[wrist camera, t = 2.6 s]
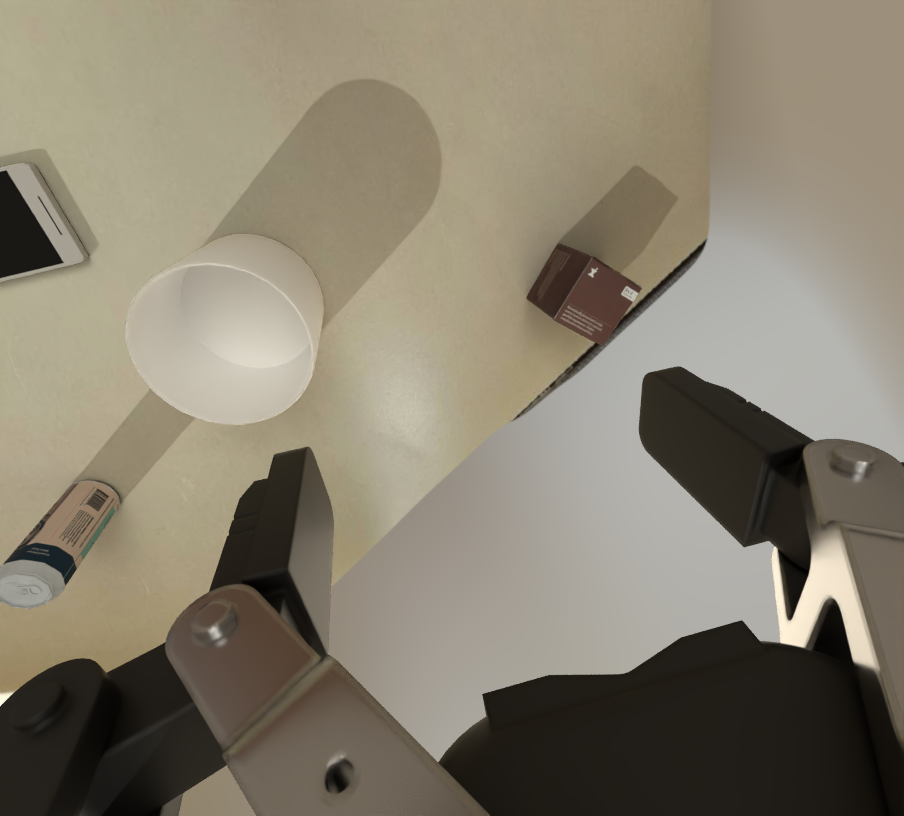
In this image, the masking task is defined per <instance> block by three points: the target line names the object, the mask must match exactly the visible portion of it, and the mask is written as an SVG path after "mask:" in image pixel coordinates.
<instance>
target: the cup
mask: <svg viewBox="0 0 904 816" xmlns="http://www.w3.org/2000/svg"><path fill="white" fill-rule="evenodd" d="M323 315H324V305H323V295H322V292H321V288H320V285H319V283H318V281H317V279H316V277H315V275H314V273H313V271H312V270H311V269H310V267H309V266H308V265H307V264H306V262H305V261H304V260H303V259H302V258H301V257H300V256H299V255H298V254H296V253H295V252H294V251H293V250H292V249H290V248H288V247H287V246H285V245H283V244H282V243H280V242H278V241H276V240H273V239H270V238H267V237H264V236H260V235H253V234H234V235H229V236H225V237H222V238H219V239H216V240H214V241H212V242H210V243H208V244H207V245H205V246H203V247H201V248H200V249H198V250H196V251H195V252H193V253H191V254H190V255H188V256H186V257H184V258H183V259H181V260H179V261H178V262H176V263H174V264H172V265H171V266H169V267H167V268H166V269H164V270H162V271H160V272H159V273H157V274H155V275H154V276H152V277H151V278H150V279H149V280H148V281H147V282H146V283H145V284H144V285H143V286H142V287H141V288H140V289H139V290H138V291H137V293H136V295H135V297H134V299H133V300H132V302H131V304H130V306H129V310H128V314H127V318H126V322H125V330H126V344H127V347H128V351H129V354H130V358H131V360H132V362H133V364H134V366H135V368H136V370H137V371H138V373H139V375H140V377H141V378H142V379H143V380H144V381H145V383H146V384H147V385H148V386H149V387H150V389H151V390H152V391H153V392H154V393H156V394H157V395H158V396H159V397H160V398H161V399H163V400H164V401H165V402H166V403H168V404H169V405H171V406H173V407H174V408H176V409H178V410H179V411H181V412H183V413H185V414H187V415H190V416H193V417H195V418H198V419H200V420H204V421H209V422H213V423H218V424H231V425H241V424H249V423H257V422H260V421H263V420H266V419H269V418H272V417H274V416H276V415H278V414H280V413H281V412H283V411H285V410H287V409H288V408H289V407H290V406H291V405H293V404H294V403H295V402H296V401H297V400H298V399H299V398H300V397H301V395H302V394H303V392H304V391H305V390H306V388H307V387H308V384H309V382H310V380H311V377H312V375H313V372H314V366H315V361H316V355H317V350H318V344H319V338H320V333H321V327H322V321H323Z"/></svg>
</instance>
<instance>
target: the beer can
mask: <svg viewBox="0 0 904 816" xmlns="http://www.w3.org/2000/svg"><path fill="white" fill-rule="evenodd" d="M119 505H120V500H119V496H118V495H117V493H116V492H115V491H114V490H113V489H112V488H111V487H109V486H108V485H106V484H104V483H100V482H97V481H89V480H87V481H79V482H76V483H73V484H72V485H70V486H69V487H68V488H67V489H66V491H65V493H64V494H63V495H62V496H61V497H60V499H59V500H58V501H57V502H56V503H55V504H54V506H53V507H52V508H51V509H50V510H49V511H48V513H47V514H46V515H45V516H44V517H43V518H42V520H41V521H40V522H39V523H38V524H37V525H36V526H35V528H34V529H33V530H32V531H31V532H30V533H29V535H28V536H27V537H26V538H25V539H24V540H23V542H22V543H21V544H20V545H19V546H18V547H17V549H16V550H15V551H14V552H13V553H12V554H11V556H10V557H9V558H8V559H7V560H6V561H5V563H4V564H3V565H2V566H0V601H2V602H3V603H5V604H7V605H9V606H11V607H18V608H27V609H31V608H35V607H38V606H42V605H45V604H46V603H48V602H49V601H51V600H53V599H55V598H56V597H58V596H59V595H60V594H61V593H62V592H63V590H64V588H65V586H66V584H67V583H68V581H69V580H70V578H71V577H72V575H73V574H74V572H75V571H76V569H77V568H78V566H79V565H80V563H81V562H82V560H83V559H84V557H85V556H86V554H87V553H88V551H89V550H90V548H91V547H92V545H93V544H94V542H95V541H96V539H97V538H98V536H99V535H100V533H101V532H102V531H103V529H104V528H105V526H106V525H107V523H108V522H109V520H110V519H111V517H112V516H113V514H114V513H115V512H116V510H117V509H118V507H119Z"/></svg>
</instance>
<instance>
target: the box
mask: <svg viewBox="0 0 904 816" xmlns="http://www.w3.org/2000/svg"><path fill="white" fill-rule="evenodd" d="M641 289H642V287H641V286H639V285H637V284H636V283H634V282H633V281H631V280H629V279H628V278H626V277H625V276H623V275H622V274H620V273H619V272H617V271H616V270H614V269H612V268H610V267H609V266H607V265H606V264H604V263H603V262H601V261H600V260H598V259H596V258H595V257H592V256H590V255H587V254H585V253H583V252H580V251H577V250H575V249H573V248H570V247H567V246H564V245H562V244H558V245H557V246H556V248H555V250H554V251H553V253H552V255H551V256H550V258H549V260H548V261H547V263H546V265H545V267H544V268H543V270H542V272H541V274H540V275H539V277H538V279H537V280H536V282H535V284H534V286H533V287H532V289H531V291H530V292H529V294H528V296H527V299H528V300H529V301H531V302H532V303H533V304H534V305H536V306H537V307H538V308H540V309H541V310H542V311H544V312H545V313H546V314H548V315H549V316H550V317H552V318H553V319H554V320H555V321H556V322H558V323H560V324H562V325H564V326H565V327H567V328H569V329H571V330H573V331H575V332H577V333H579V334H580V335H582V336H584V337H586V338H588V339H590V340H592V341H593V342H596V343H598V344H600V345H602V346H603V345H604V344H605V342H606V341H607V339H608V338H609V336H610V335H611V333H612V332H613V331H614V329H615V328H616V326H617V325H618V323H619V322H620V320H621V319H622V317H623V316H624V314H625V313H626V311H627V310H628V308H629V307H630V305H631V304H632V303H633V301H634V300H635V298H636V297H637V295H638V293H639V292H640V290H641Z"/></svg>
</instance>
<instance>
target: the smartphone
mask: <svg viewBox="0 0 904 816" xmlns="http://www.w3.org/2000/svg"><path fill="white" fill-rule="evenodd" d="M88 258H89V256H88V254H87V252H86V250H85V249H84V247H83V245H82V244H81V242H80V240H79V239H78V237H77V235H76V234H75V232H74V230H73V228H72V227H71V225H70V223H69V222H68V220H67V218H66V217H65V215H64V213H63V212H62V210H61V208H60V206H59V205H58V203H57V201H56V200H55V198H54V196H53V195H52V193H51V191H50V190H49V188H48V186H47V184H46V183H45V181H44V179H43V178H42V176H41V174H40V173H39V171H38V169H37V168H36V166H35V165H34V164H31V163H17V164H12V165H8V166H3V167H0V282H2V281H7V280H11V279H15V278H19V277H23V276H27V275H32V274H36V273H40V272H44V271H48V270H52V269H57V268H61V267H65V266H69V265H73V264H77V263H80V262H83V261H85V260H87V259H88Z"/></svg>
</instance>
